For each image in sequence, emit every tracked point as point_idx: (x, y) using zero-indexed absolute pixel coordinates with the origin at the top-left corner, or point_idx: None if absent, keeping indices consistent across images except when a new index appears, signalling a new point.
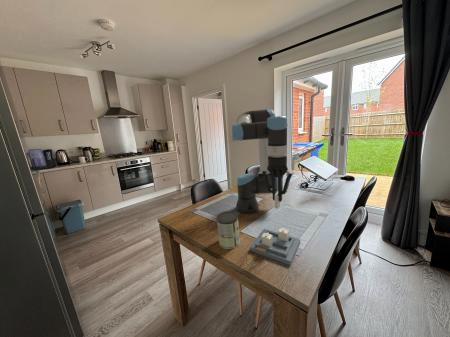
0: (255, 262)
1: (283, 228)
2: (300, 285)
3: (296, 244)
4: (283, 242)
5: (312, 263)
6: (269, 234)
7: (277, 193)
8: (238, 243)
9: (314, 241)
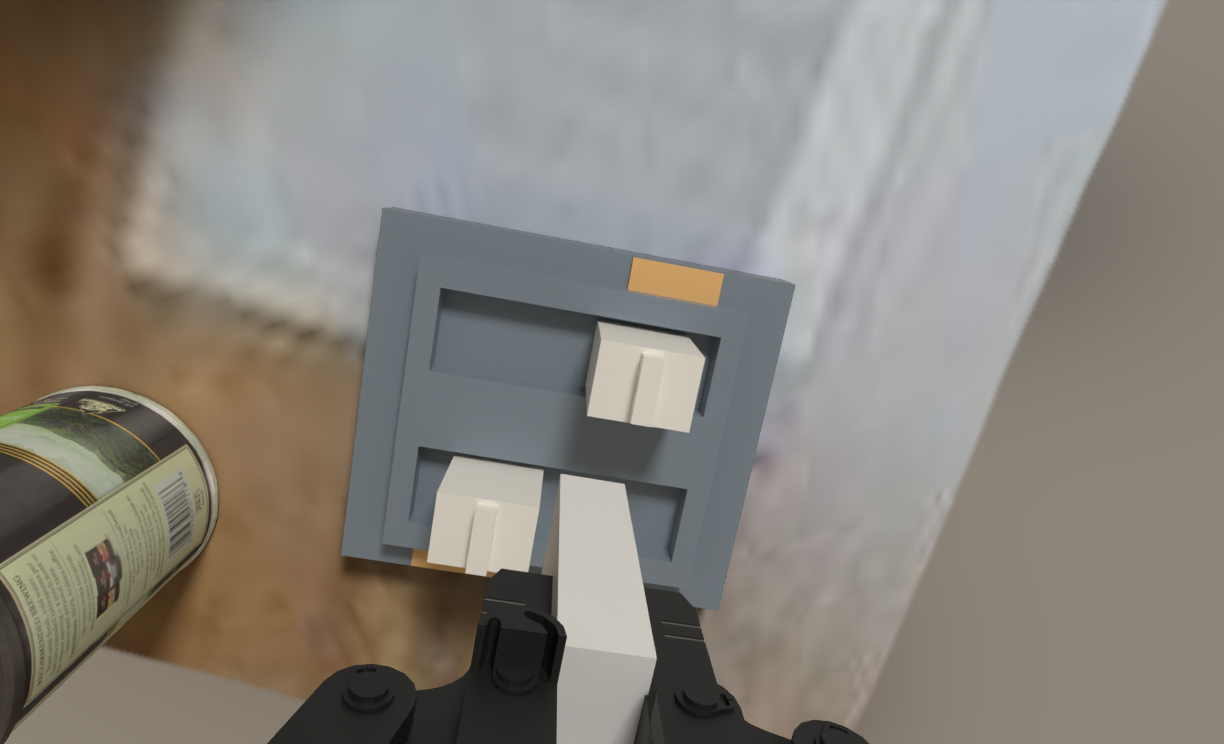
0: (446, 645)
1: (644, 377)
2: (779, 726)
3: (759, 382)
4: (643, 436)
5: (869, 513)
6: (504, 507)
7: (589, 718)
8: (210, 503)
9: (916, 211)
